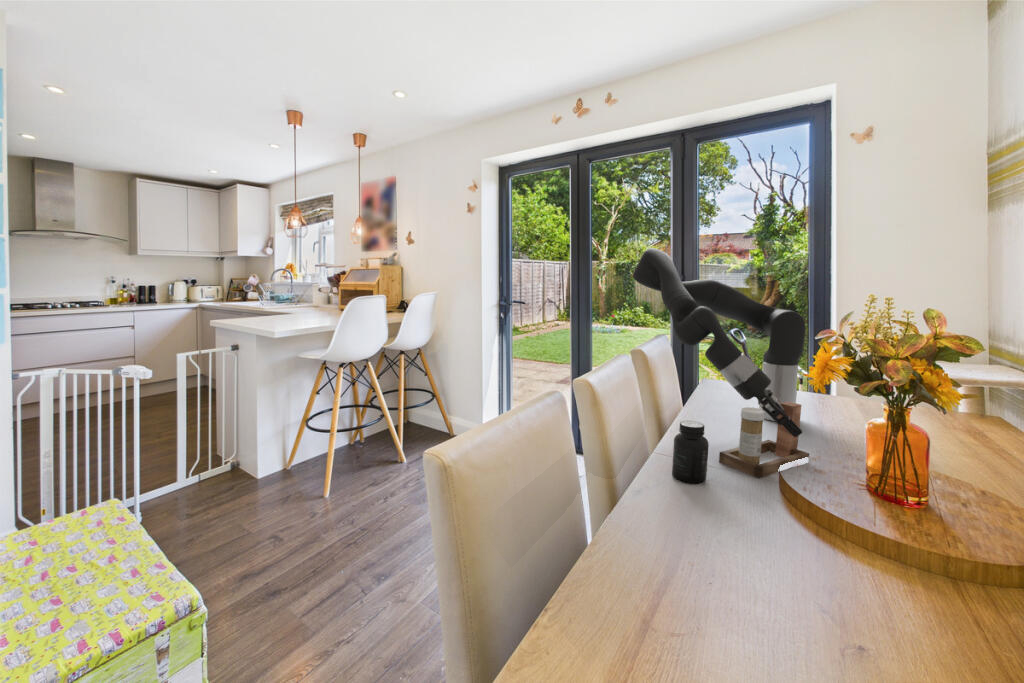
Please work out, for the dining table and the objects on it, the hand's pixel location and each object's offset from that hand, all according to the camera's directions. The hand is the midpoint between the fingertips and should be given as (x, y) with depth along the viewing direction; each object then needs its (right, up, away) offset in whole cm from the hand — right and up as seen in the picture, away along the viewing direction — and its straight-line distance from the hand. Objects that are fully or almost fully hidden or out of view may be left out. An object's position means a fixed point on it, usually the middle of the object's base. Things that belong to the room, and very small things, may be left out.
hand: (797, 431), depth 106 cm
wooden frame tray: (-9, -7, -2) cm, 12 cm away
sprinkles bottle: (-14, -7, -4) cm, 17 cm away
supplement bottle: (-30, -8, -10) cm, 33 cm away
